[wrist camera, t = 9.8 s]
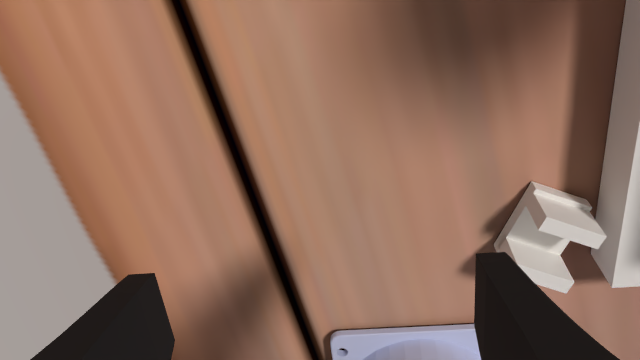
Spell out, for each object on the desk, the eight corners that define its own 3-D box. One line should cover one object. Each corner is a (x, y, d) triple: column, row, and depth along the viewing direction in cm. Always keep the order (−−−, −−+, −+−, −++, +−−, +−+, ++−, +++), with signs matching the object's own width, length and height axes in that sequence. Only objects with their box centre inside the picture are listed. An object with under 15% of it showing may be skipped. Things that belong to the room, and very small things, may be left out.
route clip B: (545, 261, 24) (563, 297, 22) (493, 244, 24) (506, 279, 22) (586, 199, 23) (610, 232, 21) (531, 181, 22) (549, 212, 20)
